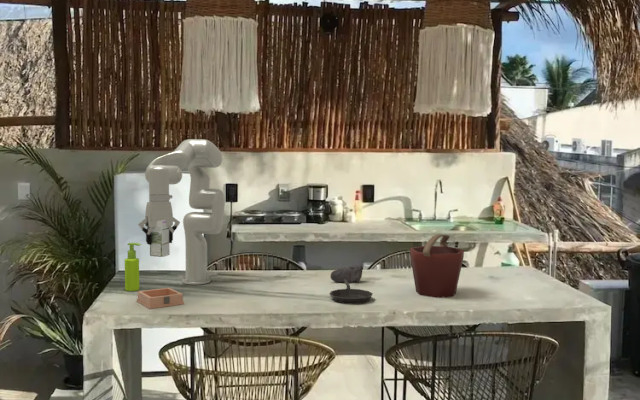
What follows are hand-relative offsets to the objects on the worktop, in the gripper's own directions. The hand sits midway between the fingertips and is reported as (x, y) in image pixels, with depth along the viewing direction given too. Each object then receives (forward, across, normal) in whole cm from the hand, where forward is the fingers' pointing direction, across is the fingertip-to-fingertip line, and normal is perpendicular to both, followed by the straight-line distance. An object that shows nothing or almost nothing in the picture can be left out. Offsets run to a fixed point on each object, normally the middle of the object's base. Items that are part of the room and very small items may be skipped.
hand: (159, 243), depth 269 cm
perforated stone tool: (+24, -86, +7) cm, 89 cm away
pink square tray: (+24, 0, 0) cm, 24 cm away
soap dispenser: (+24, +1, -28) cm, 37 cm away
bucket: (+24, -106, +45) cm, 118 cm away
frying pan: (+24, -71, +29) cm, 80 cm away
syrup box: (+5, 0, 0) cm, 5 cm away
